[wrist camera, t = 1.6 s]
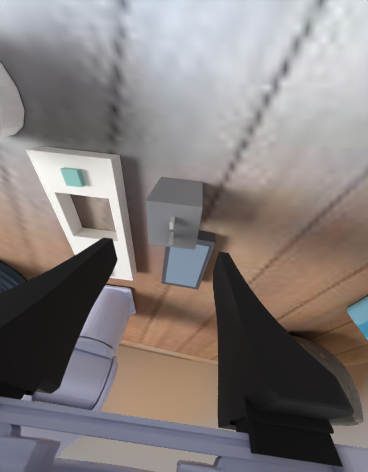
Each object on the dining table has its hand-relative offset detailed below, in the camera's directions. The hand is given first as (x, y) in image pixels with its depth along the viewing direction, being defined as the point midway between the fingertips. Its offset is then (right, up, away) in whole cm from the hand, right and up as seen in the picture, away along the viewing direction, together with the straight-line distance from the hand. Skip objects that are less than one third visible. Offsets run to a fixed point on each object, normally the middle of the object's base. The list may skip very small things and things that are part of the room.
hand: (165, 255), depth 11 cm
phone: (+2, -1, +13) cm, 13 cm away
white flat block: (-10, +3, +11) cm, 15 cm away
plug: (+1, +6, +8) cm, 10 cm away
